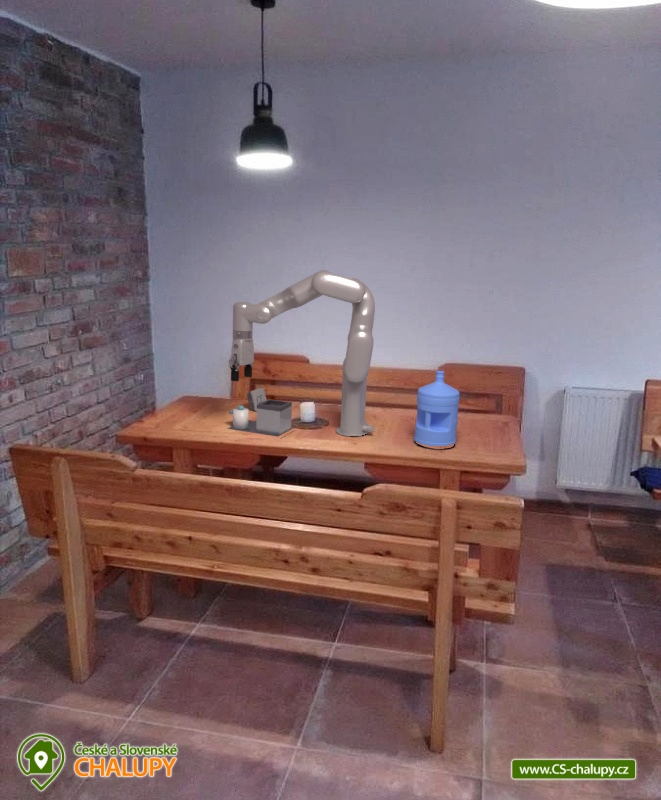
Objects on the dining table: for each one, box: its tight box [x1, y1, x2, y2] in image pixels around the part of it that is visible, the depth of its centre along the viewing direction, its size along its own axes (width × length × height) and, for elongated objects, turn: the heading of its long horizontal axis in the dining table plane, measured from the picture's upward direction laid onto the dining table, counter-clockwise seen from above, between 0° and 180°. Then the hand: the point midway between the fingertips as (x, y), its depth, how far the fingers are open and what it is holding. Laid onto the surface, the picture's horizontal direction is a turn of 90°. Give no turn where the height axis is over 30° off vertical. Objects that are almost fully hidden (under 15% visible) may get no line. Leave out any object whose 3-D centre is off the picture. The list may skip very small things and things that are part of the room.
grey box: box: [226, 398, 296, 439], centre depth 254 cm, size 22×16×12 cm
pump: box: [229, 404, 250, 429], centre depth 253 cm, size 8×6×8 cm
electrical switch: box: [246, 387, 267, 412], centre depth 287 cm, size 9×5×9 cm, turn 152°
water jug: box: [413, 370, 461, 446], centre depth 243 cm, size 16×16×28 cm
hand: (241, 378), depth 252 cm, fingers open, 9 cm apart
